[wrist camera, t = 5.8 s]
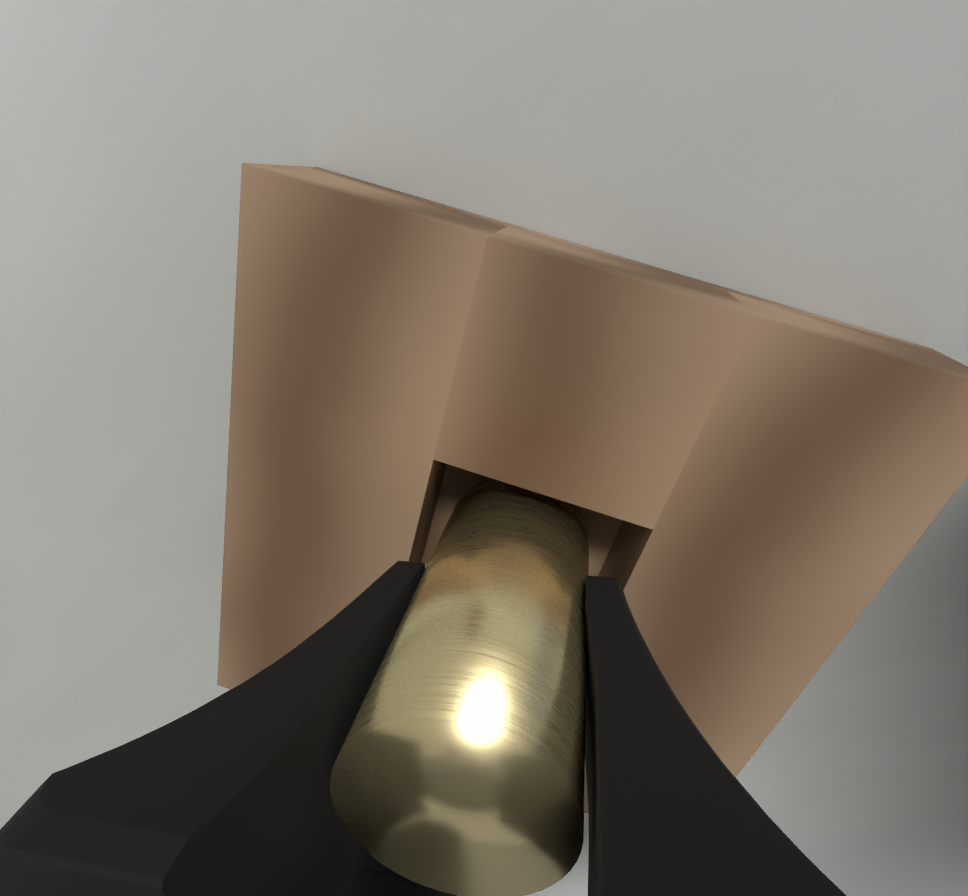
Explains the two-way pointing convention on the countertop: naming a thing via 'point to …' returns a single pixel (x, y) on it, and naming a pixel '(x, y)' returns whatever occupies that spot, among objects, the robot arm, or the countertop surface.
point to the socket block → (565, 436)
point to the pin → (480, 707)
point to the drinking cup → (383, 880)
